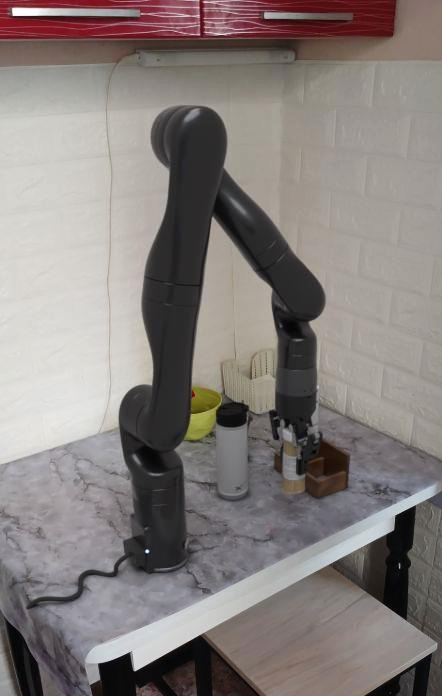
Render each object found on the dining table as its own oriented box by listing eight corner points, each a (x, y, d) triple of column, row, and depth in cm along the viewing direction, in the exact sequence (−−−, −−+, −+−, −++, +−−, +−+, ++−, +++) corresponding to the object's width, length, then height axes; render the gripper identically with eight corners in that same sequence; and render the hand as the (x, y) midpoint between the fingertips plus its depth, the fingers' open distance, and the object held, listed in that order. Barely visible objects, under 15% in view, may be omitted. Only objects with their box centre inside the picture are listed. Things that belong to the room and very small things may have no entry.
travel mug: (246, 502, 156) (245, 413, 145) (215, 499, 157) (212, 411, 147) (251, 486, 161) (251, 400, 151) (221, 484, 162) (218, 398, 152)
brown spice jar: (294, 481, 150) (296, 420, 144) (310, 490, 147) (312, 428, 140) (276, 488, 148) (277, 426, 141) (291, 498, 145) (293, 435, 138)
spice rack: (317, 499, 156) (318, 465, 152) (273, 468, 167) (274, 436, 163) (347, 487, 159) (350, 454, 155) (303, 458, 171) (304, 426, 167)
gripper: (256, 378, 140) (256, 459, 149) (303, 405, 130) (300, 490, 138) (289, 369, 143) (287, 448, 152) (337, 394, 133) (332, 478, 142)
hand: (293, 468), depth 145 cm, fingers closed on brown spice jar, 4 cm apart
